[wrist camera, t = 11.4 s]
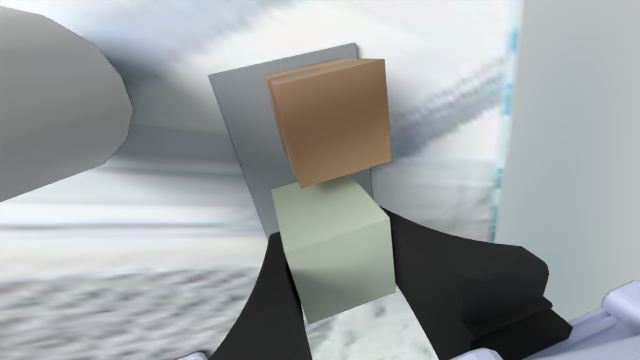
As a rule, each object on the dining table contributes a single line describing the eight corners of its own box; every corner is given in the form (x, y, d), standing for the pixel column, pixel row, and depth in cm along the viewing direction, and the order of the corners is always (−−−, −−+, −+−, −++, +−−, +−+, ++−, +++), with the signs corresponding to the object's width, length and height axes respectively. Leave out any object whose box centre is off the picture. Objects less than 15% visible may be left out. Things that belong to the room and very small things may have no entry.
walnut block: (349, 131, 16) (391, 161, 11) (283, 149, 15) (301, 188, 11) (339, 58, 14) (384, 58, 9) (263, 75, 13) (274, 85, 9)
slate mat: (373, 213, 19) (375, 215, 19) (270, 246, 18) (271, 249, 18) (353, 43, 14) (355, 42, 14) (208, 75, 13) (207, 75, 13)
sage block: (354, 227, 16) (396, 291, 12) (290, 248, 15) (308, 324, 11) (344, 168, 14) (389, 218, 10) (271, 189, 14) (284, 252, 9)
